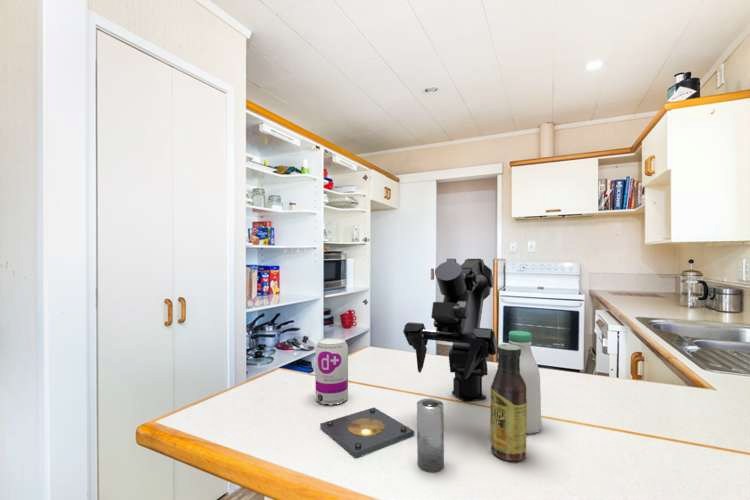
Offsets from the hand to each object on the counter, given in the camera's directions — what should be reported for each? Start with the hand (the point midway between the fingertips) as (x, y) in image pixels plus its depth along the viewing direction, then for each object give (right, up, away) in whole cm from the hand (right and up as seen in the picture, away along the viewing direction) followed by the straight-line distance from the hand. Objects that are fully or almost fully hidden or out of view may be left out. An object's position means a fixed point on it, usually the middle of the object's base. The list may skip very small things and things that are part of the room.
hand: (441, 374), depth 70 cm
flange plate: (-15, -13, +4) cm, 21 cm away
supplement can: (-24, -14, +21) cm, 35 cm away
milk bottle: (+18, -14, +7) cm, 24 cm away
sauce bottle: (+12, -13, -4) cm, 18 cm away
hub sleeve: (-3, -13, -7) cm, 15 cm away
